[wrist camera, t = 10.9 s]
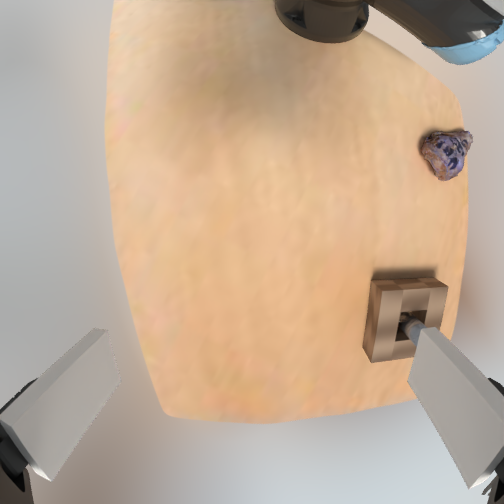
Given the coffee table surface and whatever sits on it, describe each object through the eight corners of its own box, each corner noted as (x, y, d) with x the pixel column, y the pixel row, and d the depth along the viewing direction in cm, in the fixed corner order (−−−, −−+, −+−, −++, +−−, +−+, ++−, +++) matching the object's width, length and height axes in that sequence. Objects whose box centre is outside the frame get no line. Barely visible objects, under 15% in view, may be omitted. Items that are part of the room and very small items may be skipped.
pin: (392, 305, 43) (418, 332, 33) (407, 304, 42) (435, 330, 33) (390, 321, 43) (414, 351, 34) (405, 320, 43) (431, 348, 33)
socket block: (371, 280, 42) (382, 291, 37) (433, 277, 41) (448, 286, 36) (362, 347, 45) (370, 362, 40) (421, 340, 44) (433, 353, 39)
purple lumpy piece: (457, 122, 35) (478, 116, 29) (473, 163, 37) (495, 162, 31) (409, 142, 37) (428, 137, 31) (427, 187, 38) (448, 188, 32)
